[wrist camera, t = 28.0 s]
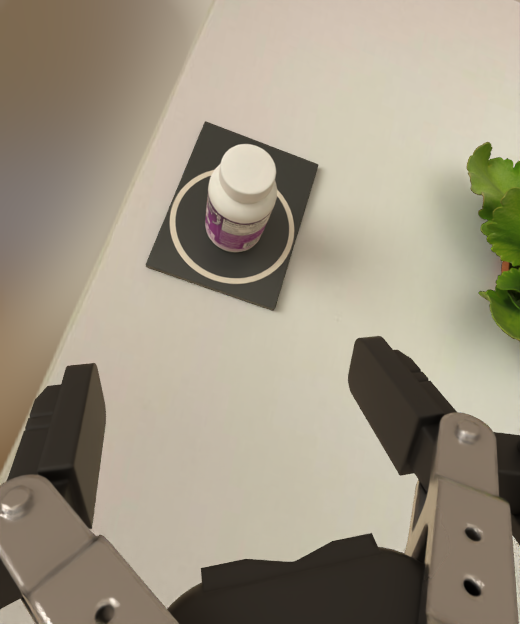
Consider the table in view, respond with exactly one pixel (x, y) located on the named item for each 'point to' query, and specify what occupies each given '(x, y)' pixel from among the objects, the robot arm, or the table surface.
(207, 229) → the pill bottle
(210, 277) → the slate board
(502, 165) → the potted flower
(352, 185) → the table surface
